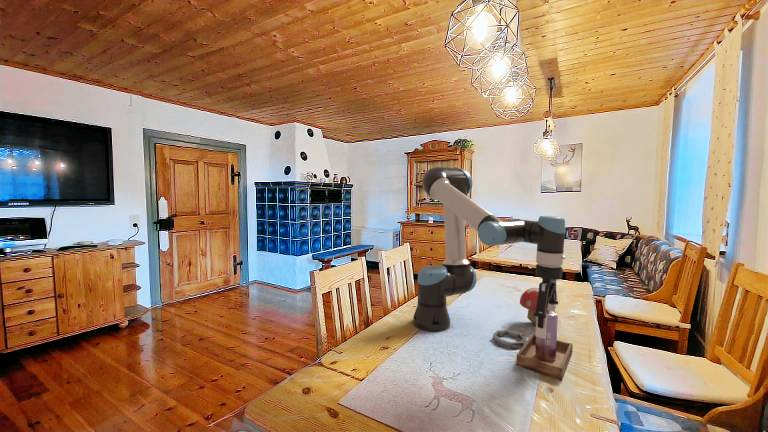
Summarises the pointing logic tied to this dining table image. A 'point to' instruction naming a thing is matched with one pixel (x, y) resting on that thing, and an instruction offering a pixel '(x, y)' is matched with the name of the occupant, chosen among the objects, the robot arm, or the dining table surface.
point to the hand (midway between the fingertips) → (545, 329)
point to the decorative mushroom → (530, 302)
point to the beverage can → (548, 338)
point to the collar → (507, 343)
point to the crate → (548, 368)
